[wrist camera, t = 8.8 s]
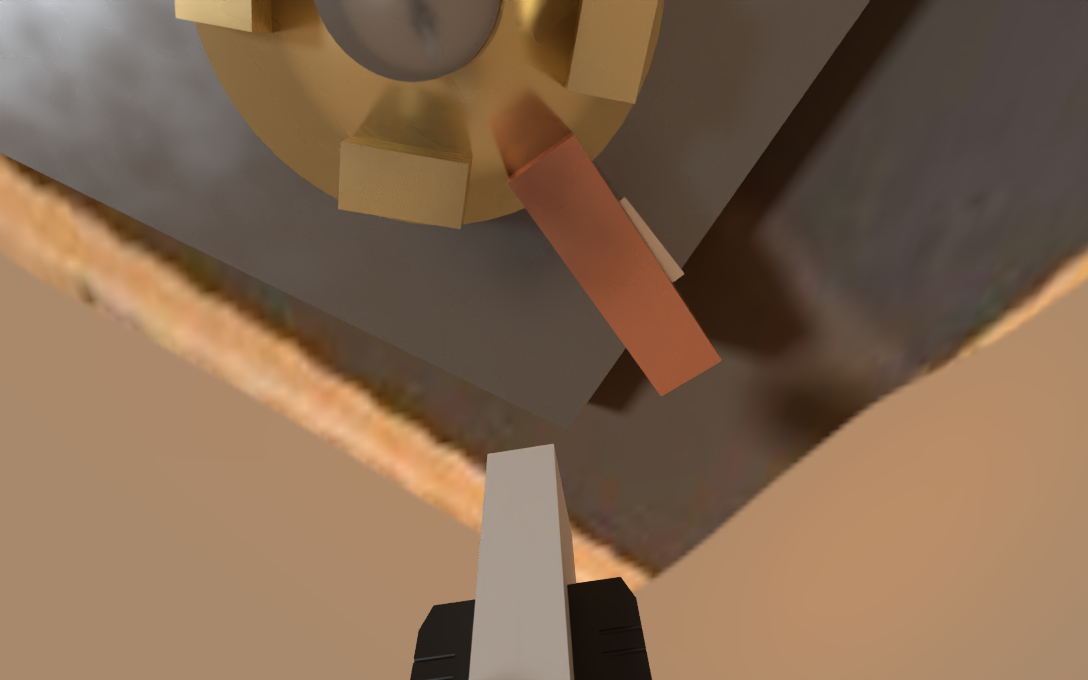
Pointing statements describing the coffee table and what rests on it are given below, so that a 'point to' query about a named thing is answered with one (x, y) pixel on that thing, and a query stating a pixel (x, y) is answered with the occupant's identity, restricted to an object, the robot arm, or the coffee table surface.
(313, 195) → the flange plate
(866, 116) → the coffee table surface
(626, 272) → the gold tabbed disc
